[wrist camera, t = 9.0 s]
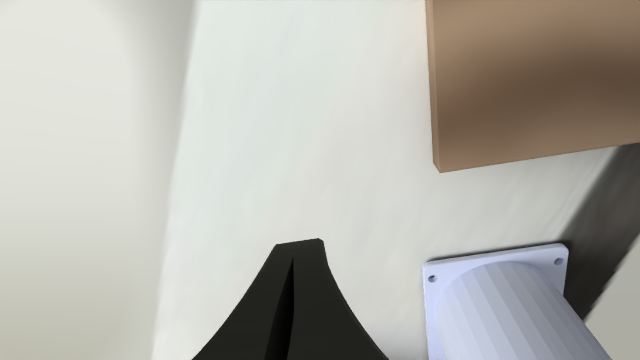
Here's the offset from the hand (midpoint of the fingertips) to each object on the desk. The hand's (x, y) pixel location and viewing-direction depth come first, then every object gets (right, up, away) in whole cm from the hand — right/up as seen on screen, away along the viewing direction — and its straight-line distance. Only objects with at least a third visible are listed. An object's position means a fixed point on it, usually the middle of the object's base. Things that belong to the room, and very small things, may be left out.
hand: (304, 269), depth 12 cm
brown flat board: (+12, +12, +4) cm, 18 cm away
